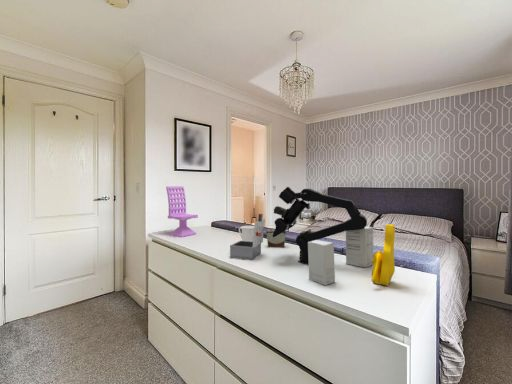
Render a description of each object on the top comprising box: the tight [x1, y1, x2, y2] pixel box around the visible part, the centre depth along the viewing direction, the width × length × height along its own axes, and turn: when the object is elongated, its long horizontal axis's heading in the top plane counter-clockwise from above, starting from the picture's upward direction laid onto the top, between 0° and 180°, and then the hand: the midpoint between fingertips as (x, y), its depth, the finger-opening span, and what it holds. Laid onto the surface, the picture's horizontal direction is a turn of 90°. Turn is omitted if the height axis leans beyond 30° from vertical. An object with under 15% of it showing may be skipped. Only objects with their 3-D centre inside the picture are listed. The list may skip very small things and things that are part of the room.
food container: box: [265, 228, 288, 249], centre depth 149 cm, size 12×6×10 cm, turn 84°
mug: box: [238, 225, 254, 242], centre depth 156 cm, size 11×9×10 cm
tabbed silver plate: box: [253, 213, 265, 247], centre depth 126 cm, size 15×12×2 cm
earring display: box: [165, 185, 199, 238], centre depth 183 cm, size 15×17×35 cm
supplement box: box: [345, 226, 375, 268], centre depth 116 cm, size 10×9×17 cm
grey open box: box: [229, 240, 262, 261], centre depth 129 cm, size 12×12×6 cm
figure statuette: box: [371, 223, 396, 287], centre depth 93 cm, size 18×8×22 cm, turn 145°
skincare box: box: [308, 239, 336, 286], centre depth 96 cm, size 8×6×15 cm
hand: (276, 235), depth 124 cm, fingers open, 9 cm apart
